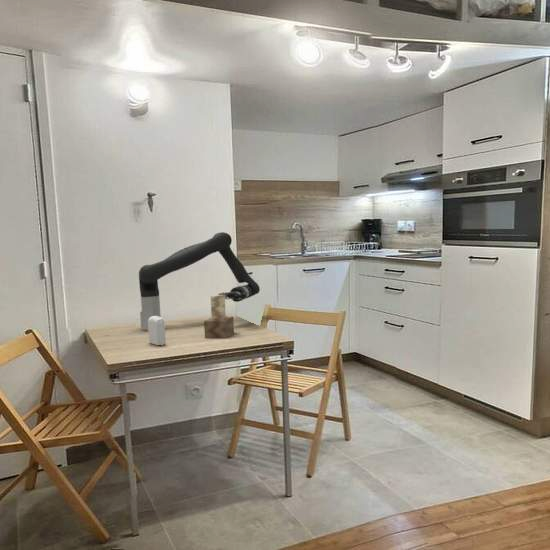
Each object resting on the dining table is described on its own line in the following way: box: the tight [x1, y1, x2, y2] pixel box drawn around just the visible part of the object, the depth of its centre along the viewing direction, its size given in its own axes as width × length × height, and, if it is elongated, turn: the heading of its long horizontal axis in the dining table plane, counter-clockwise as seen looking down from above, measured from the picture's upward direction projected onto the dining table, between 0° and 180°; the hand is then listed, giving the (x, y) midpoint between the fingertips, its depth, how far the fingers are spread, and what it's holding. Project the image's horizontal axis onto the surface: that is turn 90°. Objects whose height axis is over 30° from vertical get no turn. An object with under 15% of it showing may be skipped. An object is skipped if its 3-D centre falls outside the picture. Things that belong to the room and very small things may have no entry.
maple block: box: [210, 294, 227, 320], centre depth 217 cm, size 5×5×11 cm
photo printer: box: [148, 316, 167, 346], centre depth 204 cm, size 10×4×12 cm, turn 39°
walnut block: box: [203, 316, 235, 339], centre depth 217 cm, size 10×12×8 cm
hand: (227, 297), depth 228 cm, fingers open, 8 cm apart
